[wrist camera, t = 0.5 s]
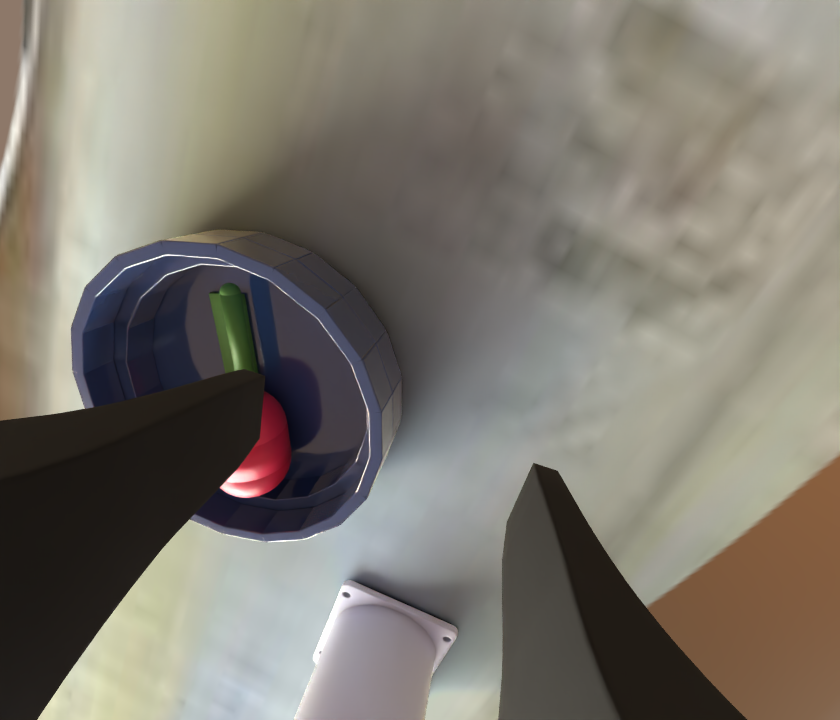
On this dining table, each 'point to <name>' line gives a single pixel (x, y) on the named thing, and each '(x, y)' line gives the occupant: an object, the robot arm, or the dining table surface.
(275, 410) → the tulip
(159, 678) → the dining table surface
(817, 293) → the dining table surface
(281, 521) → the bowl
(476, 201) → the dining table surface
